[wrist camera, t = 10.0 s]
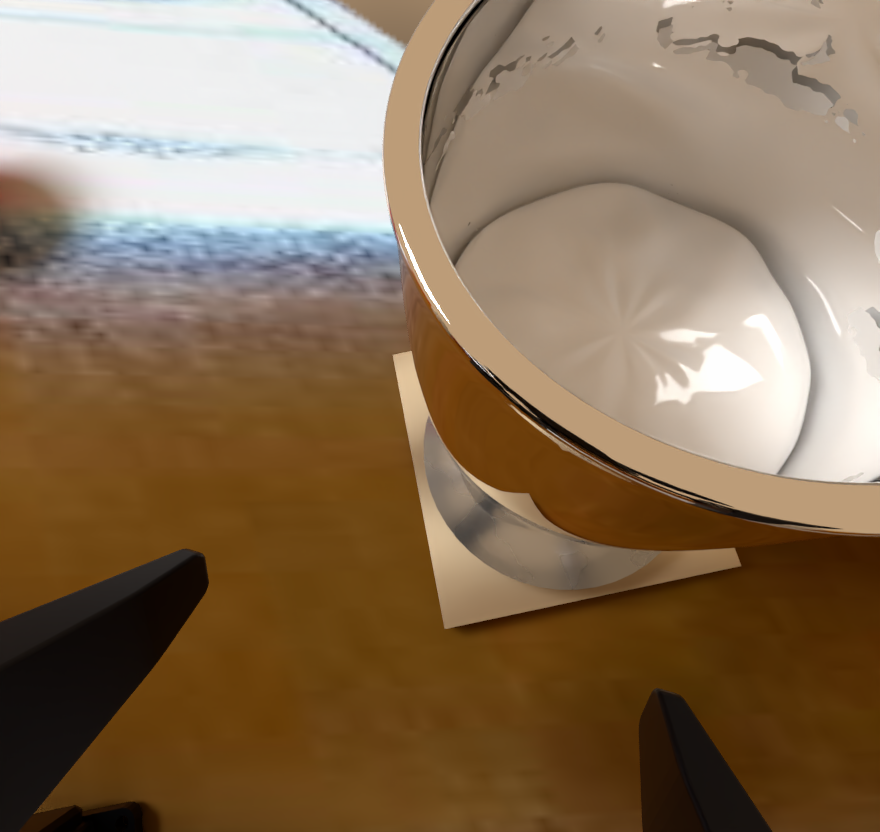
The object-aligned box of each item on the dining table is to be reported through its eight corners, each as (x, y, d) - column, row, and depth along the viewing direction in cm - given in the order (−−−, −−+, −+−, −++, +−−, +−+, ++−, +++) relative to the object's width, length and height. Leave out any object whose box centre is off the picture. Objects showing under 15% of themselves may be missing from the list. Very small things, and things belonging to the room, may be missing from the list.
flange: (724, 555, 17) (740, 556, 16) (454, 612, 17) (453, 617, 16) (635, 313, 20) (644, 301, 19) (405, 362, 20) (401, 353, 19)
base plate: (729, 564, 18) (741, 565, 17) (445, 625, 18) (444, 628, 17) (636, 310, 21) (642, 301, 21) (395, 361, 21) (392, 354, 21)
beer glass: (590, 358, 19) (987, -224, 4) (642, 522, 17) (1633, 442, 3) (432, 391, 19) (309, -74, 4) (465, 558, 17) (445, 682, 3)
